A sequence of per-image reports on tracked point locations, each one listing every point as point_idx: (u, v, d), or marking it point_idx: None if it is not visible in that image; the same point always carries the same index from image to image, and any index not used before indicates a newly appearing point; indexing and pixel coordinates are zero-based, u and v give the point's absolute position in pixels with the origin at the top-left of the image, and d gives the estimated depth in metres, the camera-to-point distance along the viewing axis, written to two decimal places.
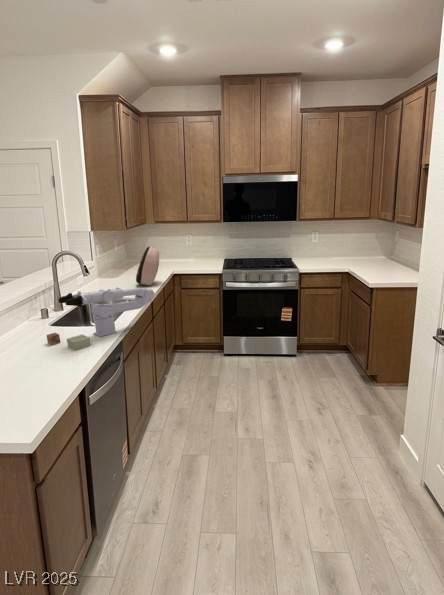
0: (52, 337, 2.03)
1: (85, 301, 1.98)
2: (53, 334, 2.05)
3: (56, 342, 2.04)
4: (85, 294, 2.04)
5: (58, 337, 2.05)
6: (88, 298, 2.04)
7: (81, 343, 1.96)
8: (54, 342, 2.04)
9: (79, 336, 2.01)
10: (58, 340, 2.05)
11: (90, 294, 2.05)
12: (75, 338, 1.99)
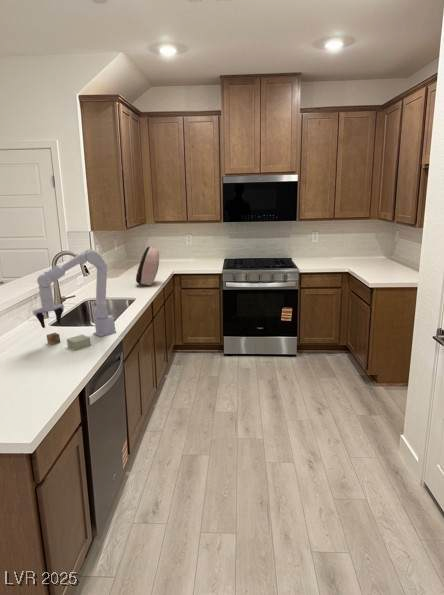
0: (52, 337, 2.03)
1: (33, 313, 1.97)
2: (53, 334, 2.05)
3: (56, 342, 2.04)
4: None
5: (58, 337, 2.05)
6: (41, 303, 1.99)
7: (81, 343, 1.96)
8: (54, 342, 2.04)
9: (79, 336, 2.01)
10: (58, 340, 2.05)
11: None
12: (75, 338, 1.99)
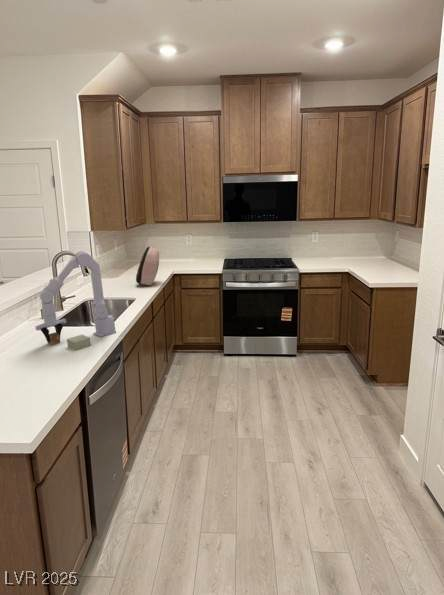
0: (52, 337, 2.03)
1: (36, 328, 1.99)
2: (53, 334, 2.05)
3: (56, 342, 2.04)
4: None
5: (58, 337, 2.05)
6: (44, 318, 2.01)
7: (81, 343, 1.96)
8: (54, 341, 2.04)
9: (79, 336, 2.01)
10: (58, 340, 2.05)
11: None
12: (75, 338, 1.99)
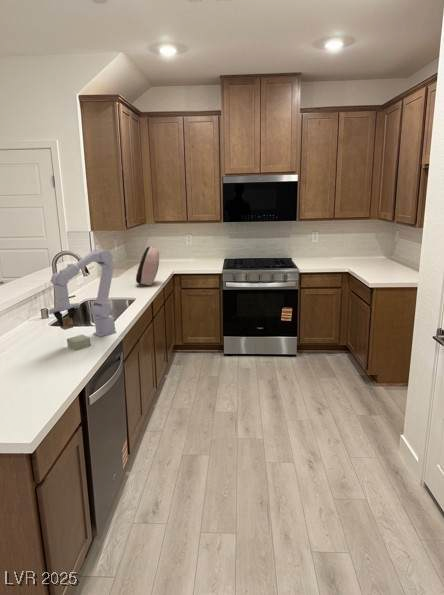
0: (65, 321, 1.97)
1: (49, 312, 1.93)
2: (66, 318, 1.99)
3: (69, 326, 1.98)
4: None
5: (71, 321, 1.99)
6: None
7: (81, 343, 1.96)
8: (67, 326, 1.98)
9: (79, 336, 2.01)
10: (71, 324, 1.99)
11: None
12: (75, 338, 1.99)
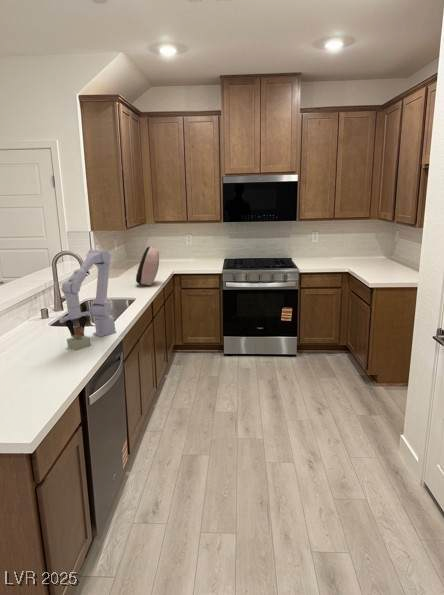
0: (76, 330, 1.95)
1: (60, 320, 1.91)
2: (77, 327, 1.97)
3: (80, 335, 1.97)
4: None
5: (82, 330, 1.97)
6: None
7: (81, 343, 1.96)
8: (78, 335, 1.96)
9: None
10: (82, 333, 1.97)
11: None
12: (75, 338, 1.99)
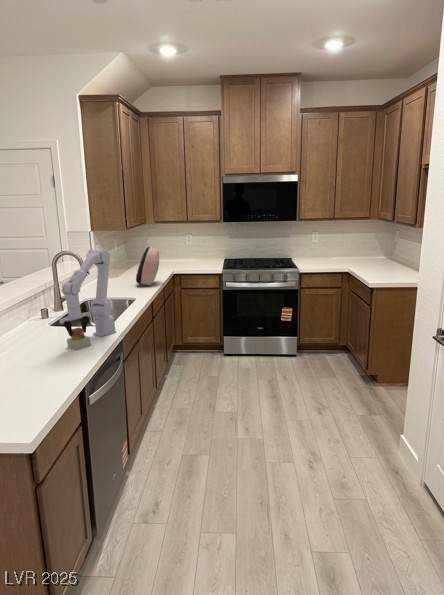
0: (76, 332, 1.95)
1: (60, 321, 1.91)
2: (77, 329, 1.98)
3: (80, 337, 1.97)
4: None
5: (82, 332, 1.98)
6: (68, 311, 1.93)
7: (81, 343, 1.96)
8: (78, 337, 1.96)
9: None
10: (82, 335, 1.98)
11: None
12: None
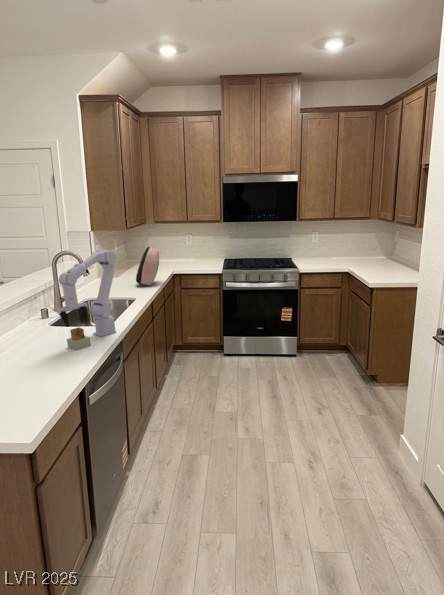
0: (76, 332, 1.95)
1: (57, 311, 1.93)
2: (77, 329, 1.98)
3: (80, 337, 1.97)
4: None
5: (82, 332, 1.98)
6: (65, 301, 1.95)
7: (81, 343, 1.96)
8: (78, 337, 1.96)
9: None
10: (82, 335, 1.98)
11: None
12: None
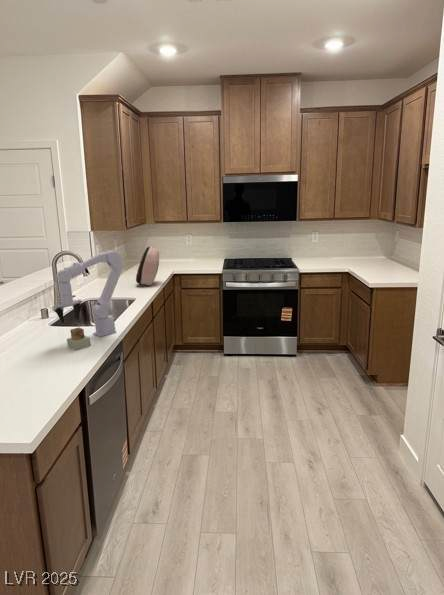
0: (76, 332, 1.95)
1: (53, 308, 1.99)
2: (77, 329, 1.98)
3: (80, 337, 1.97)
4: None
5: (82, 332, 1.98)
6: (60, 298, 2.01)
7: (81, 343, 1.96)
8: (78, 337, 1.96)
9: None
10: (82, 335, 1.98)
11: None
12: None
